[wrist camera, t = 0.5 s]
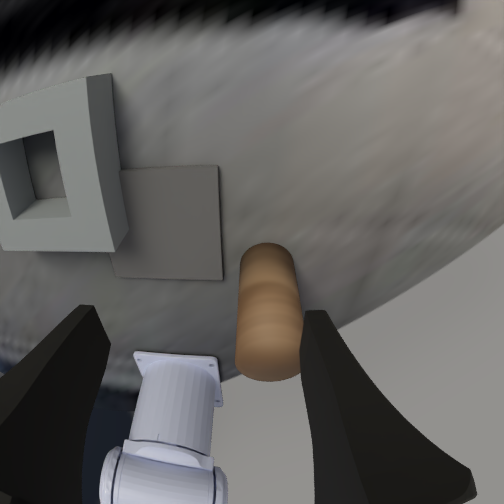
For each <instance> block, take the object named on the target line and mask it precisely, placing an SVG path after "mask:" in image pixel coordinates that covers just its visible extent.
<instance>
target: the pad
mask: <svg viewBox="0 0 504 504" xmlns="http://www.w3.org/2000/svg"><path fill="white" fill-rule="evenodd" d="M119 177H120V183H121V189H122V195H123V201H124V206H125V211H126V217H127V222H128V227H129V231H128V232H127V234H126V235H125V237H124V239H123V240H122V242H121V243H120V245H119V247H118V248H117V250H116V251H115V252H109V255H110V259H111V262H112V266H113V269H114V272H115V276H116V277H126V278H154V279H188V280H223V265H222V246H221V225H220V201H219V174H218V165H201V166H170V167H150V168H135V169H121V170H120V171H119Z"/></svg>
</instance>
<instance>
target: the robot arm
mask: <svg viewBox="0 0 504 504" xmlns="http://www.w3.org/2000/svg"><path fill="white" fill-rule="evenodd" d="M110 346H111V343H110V341H109V339H108V337H107V334H106V332H105V330H104V328H103V326H102V323H101V321H100V319H99V316H98V314H97V312H96V309H95V307H94V306H93V305H79V306H78V307H77V308H75V309H74V310H73V311H72V312H71V313H70V314H69V315H68V316H67V317H66V318H65V319H64V320H63V321H62V322H61V323H60V324H58V325H57V326H56V327H55V328H54V329H53V330H52V331H51V332H50V333H49V334H48V335H47V336H46V337H45V338H44V339H43V340H42V341H41V342H40V343H39V344H38V345H37V346H36V347H35V348H34V349H33V350H32V351H31V352H30V353H29V354H27V355H26V356H25V357H24V358H23V359H22V360H21V361H20V362H19V363H18V364H17V365H16V366H14V367H13V368H12V369H11V370H10V371H8V372H7V373H6V374H5V375H4V376H2V377H1V378H0V504H82V489H81V487H82V462H83V452H84V444H85V438H86V431H87V426H88V422H89V418H90V415H91V412H92V409H93V406H94V402H95V399H96V396H97V393H98V390H99V387H100V384H101V381H102V378H103V375H104V372H105V369H106V365H107V361H108V356H109V351H110ZM299 357H300V371H301V381H302V386H303V391H304V397H305V402H306V408H307V413H308V419H309V424H310V430H311V437H312V444H313V459H314V460H313V461H314V487H315V504H463V503H465V502H467V501H469V500H472V499H474V498H475V497H476V496H477V491H476V487H475V482H474V479H473V476H472V473H471V470H470V469H469V468H467V467H466V466H464V465H462V464H461V463H459V462H458V461H456V460H455V459H453V458H452V457H450V456H449V455H448V454H446V453H445V452H444V451H442V450H441V449H440V448H438V447H437V446H436V445H435V444H433V443H432V442H431V441H430V440H429V439H427V438H426V437H425V436H424V435H423V434H422V433H420V431H418V430H417V429H416V428H415V427H414V426H413V425H412V424H410V422H408V421H407V420H406V419H405V418H404V417H403V416H402V415H401V414H400V412H399V411H398V410H397V409H396V408H395V407H394V406H393V405H392V404H391V403H390V402H389V401H388V400H387V398H386V397H385V396H384V395H383V394H382V393H381V391H380V390H379V389H378V388H377V387H376V385H375V384H374V383H373V381H372V380H371V379H370V378H369V376H368V375H367V374H366V372H365V371H364V370H363V368H362V367H361V366H360V364H359V363H358V361H357V360H356V359H355V357H354V355H353V354H352V353H351V351H350V350H349V348H348V347H347V345H346V344H345V342H344V340H343V339H342V337H341V336H340V334H339V333H338V331H337V329H336V328H335V326H334V324H333V322H332V321H331V319H330V317H329V315H328V314H327V312H326V311H325V310H311V311H306V312H305V318H304V324H303V330H302V336H301V342H300V348H299ZM134 358H135V361H136V363H137V365H138V367H139V370H140V372H141V374H142V376H143V381H142V385H141V389H140V393H139V397H138V401H137V405H136V410H135V414H134V418H133V422H132V427H131V431H130V436H129V440H125V442H124V446H123V448H121V447H115V448H114V449H113V450H111V451H109V452H108V454H107V457H106V459H105V462H104V465H103V469H102V474H101V480H100V492H99V493H100V501H101V504H227V501H228V483H227V478H226V475H225V474H224V472H223V471H222V470H221V468H220V467H215V466H213V464H214V457H210V448H211V436H212V423H213V411H214V407H222V406H223V398H222V391H221V384H220V376H219V368H218V360H217V358H215V357H212V356H194V355H178V354H164V353H152V352H142V351H136V352H134Z"/></svg>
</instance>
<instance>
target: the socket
mask: <svg viewBox="0 0 504 504" xmlns="http://www.w3.org/2000/svg"><path fill="white" fill-rule="evenodd" d="M51 130H54V137H55V143H56V149H57V154H58V160H59V165H60V170H61V175H62V179H63V184H64V188H65V193H66V197H63V198H51V199H41V200H36V197H35V194H34V190H33V186H32V182H31V178H30V173H29V169H28V164H27V159H26V155H25V149H24V144H23V138H22V137H26V136H30V135H34V134H38V133H42V132H47V131H51ZM120 170H121V166H120V159H119V151H118V143H117V135H116V126H115V116H114V105H113V93H112V78H111V73H110V74H103V75H96V76H89V77H84V78H80V79H76V80H72V81H68V82H65V83H61V84H57V85H54V86H51V87H47V88H44V89H41V90H38V91H35V92H32V93H29V94H26V95H23V96H20V97H18V98H15V99H12V100H9V101H7V102H4V103H2V104H0V243H1V245H2V248H3V251H71V252H115V251H116V250H117V248H118V247H119V245H120V243H121V242H122V240H123V239H124V237H125V235H126V234H127V232H128V231H129V227H128V222H127V217H126V211H125V206H124V201H123V195H122V189H121V183H120V177H119V171H120Z"/></svg>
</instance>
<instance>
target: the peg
mask: <svg viewBox="0 0 504 504" xmlns="http://www.w3.org/2000/svg"><path fill="white" fill-rule="evenodd" d="M303 324H304V322H303V316H302V310H301V304H300V298H299V292H298V286H297V280H296V274H295V268H294V263H293V258H292V256H291V254H290V253H289V251H288V250H287V249H285V248H284V247H282V246H280V245H278V244H274V243H261V244H257V245H255V246H253V247H251V248H249V249H248V250H247V251H246V252H245V253H244V255H243V256H242V258H241V262H240V278H239V296H238V314H237V333H236V353H235V365H236V367H237V369H238V370H239V371H240V373H242V374H243V375H245V376H246V377H248V378H251V379H254V380H258V381H267V382H269V381H270V382H273V381H281V380H285V379H288V378H292V377H294V376H296V375H297V374H299V373H300V372H301V371H300V357H299V348H300V342H301V336H302V330H303Z"/></svg>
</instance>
